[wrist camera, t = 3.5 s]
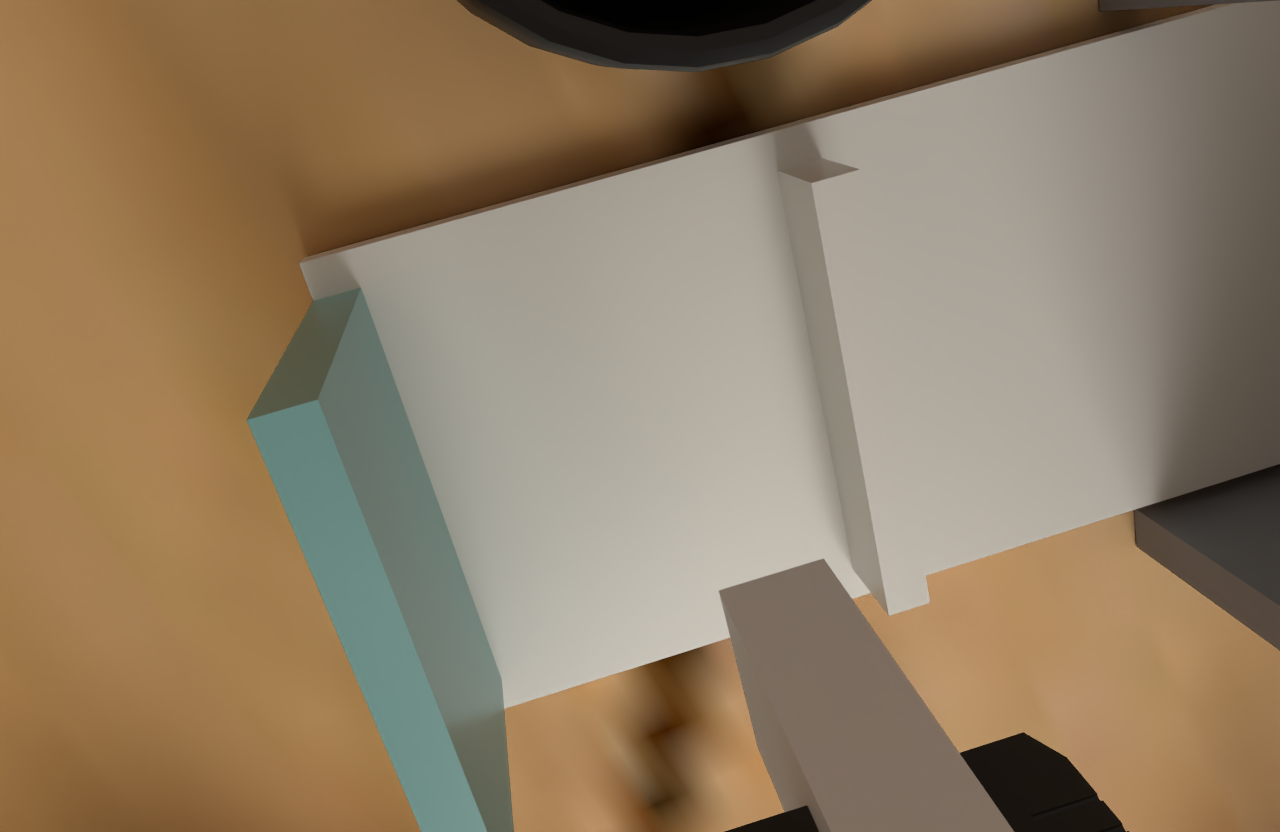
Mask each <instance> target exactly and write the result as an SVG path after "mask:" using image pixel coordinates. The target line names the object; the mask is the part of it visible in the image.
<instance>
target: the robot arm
mask: <svg viewBox="0 0 1280 832" xmlns="http://www.w3.org/2000/svg"><path fill="white" fill-rule="evenodd" d="M719 594H720V598H721V602H722V606H723V610H724V614H725V618H726V622H727V626H728V630H729V634H730V638H731V642H732V646H733V650H734V654H735V658H736V662H737V666H738V670H739V674H740V678H741V682H742V686H743V690H744V694H745V698H746V702H747V706H748V710H749V714H750V718H751V722H752V726H753V730H754V734H755V738H756V742H757V746H758V749H759V751H760V754H761V756H762V758H763V761H764V763H765V766H766V768H767V770H768V773H769V775H770V778H771V780H772V782H773V785H774V787H775V789H776V792H777V794H778V797H779V799H780V801H781V804H782V806H783V809H784V811H785V812H784V813H781V814H778V815H775V816H772V817H769V818H766V819H763V820H759V821H756V822H753V823H750V824H747V825H744V826H741V827H738V828H735V829H731V830H728V831H725V832H1126V831H1125V830H1124V828H1123V825H1122V823H1121V822H1120V820H1119V819H1118V818H1117V817H1116V816H1115V814H1114V813H1113V812H1112V811H1111V810H1110V808H1109V807H1108V806H1107V805H1106V804H1105V803H1104V801H1100V800H1099V798H1098V796H1097V793H1096V792H1095V791H1094V789H1093V788H1092V787H1091V786H1090V785H1089V783H1088V782H1087V781H1086V780H1085V779H1084V778H1083V776H1082V775H1081V774H1080V773H1079V772H1078V770H1077V769H1076V768H1075V767H1074V766H1073V764H1072V763H1071V762H1070V761H1069V760H1068V759H1067V757H1065V756H1063V755H1061V754H1060V753H1058V752H1056V751H1054V750H1053V749H1051V748H1049V747H1048V746H1046V745H1044V744H1042V743H1041V742H1039V741H1037V740H1035V739H1034V738H1032V737H1030V736H1029V735H1027V734H1025V733H1020V734H1017V735H1014V736H1011V737H1008V738H1005V739H1002V740H998V741H995V742H992V743H989V744H986V745H983V746H980V747H977V748H974V749H970V750H967V751H964V752H961V753H959V752H958V750H957V749H956V747H955V746H954V745H953V743H952V742H951V740H950V739H949V737H948V736H947V735H946V733H945V732H944V730H943V729H942V727H941V726H940V724H939V723H938V722H937V720H936V719H935V717H934V716H933V714H932V713H931V712H930V710H929V709H928V707H927V706H926V704H925V703H924V702H923V700H922V699H921V697H920V696H919V694H918V693H917V691H916V690H915V689H914V687H913V686H912V684H911V683H910V681H909V680H908V679H907V677H906V676H905V674H904V673H903V671H902V670H901V668H900V667H899V666H898V664H897V663H896V661H895V660H894V658H893V657H892V656H891V654H890V653H889V651H888V650H887V648H886V647H885V646H884V644H883V643H882V641H881V640H880V638H879V637H878V635H877V634H876V633H875V631H874V630H873V628H872V627H871V625H870V624H869V623H868V621H867V620H866V618H865V617H864V615H863V614H862V613H861V611H860V610H859V608H858V607H857V605H856V604H855V602H854V601H853V600H852V598H851V597H850V595H849V594H848V592H847V591H846V590H845V588H844V587H843V585H842V584H841V582H840V581H839V580H838V578H837V577H836V575H835V574H834V572H833V571H832V569H831V568H830V567H829V565H828V564H827V562H826V561H825V559H824V558H823V559H820V560H817V561H814V562H810V563H807V564H804V565H800V566H797V567H794V568H791V569H787V570H784V571H781V572H778V573H774V574H771V575H768V576H764V577H761V578H758V579H755V580H751V581H748V582H745V583H742V584H738V585H735V586H732V587H728V588H725V589H722V590H719ZM1127 832H1129V831H1127Z"/></svg>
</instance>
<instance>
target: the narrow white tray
mask: <svg viewBox="0 0 1280 832" xmlns="http://www.w3.org/2000/svg"><path fill="white" fill-rule="evenodd" d="M299 265H300V267H301V270H302V273H303V275H304V278H305V281H306V283H307V286H308V289H309V291H310V294H311V296H312V299H313V302H312V304H311V306H310V308H309V309H308V311H307V313H306V315H305V317H304V318H303V320H302V322H301V324H300V326H299V327H298V329H297V331H296V333H295V334H294V336H293V338H292V340H291V342H290V343H289V345H288V347H287V349H286V351H285V352H284V354H283V356H282V358H281V360H280V361H279V363H278V365H277V367H276V369H275V370H274V372H273V374H272V376H271V378H270V379H269V381H268V383H267V385H266V386H265V388H264V390H263V392H262V394H261V395H260V397H259V399H258V401H257V403H256V404H255V406H254V408H253V410H252V412H251V413H250V415H249V417H248V419H247V422H248V424H249V426H250V429H251V431H252V434H253V436H254V438H255V441H256V443H257V445H258V448H259V450H260V452H261V455H262V457H263V460H264V462H265V464H266V467H267V469H268V471H269V474H270V476H271V478H272V481H273V483H274V485H275V488H276V490H277V493H278V495H279V497H280V500H281V502H282V504H283V507H284V509H285V511H286V514H287V516H288V518H289V521H290V523H291V526H292V528H293V530H294V533H295V535H296V537H297V540H298V542H299V544H300V547H301V549H302V551H303V554H304V556H305V559H306V561H307V563H308V566H309V568H310V570H311V573H312V575H313V577H314V580H315V582H316V585H317V587H318V589H319V592H320V594H321V596H322V599H323V601H324V603H325V606H326V608H327V610H328V613H329V615H330V618H331V620H332V622H333V625H334V627H335V629H336V632H337V634H338V636H339V639H340V641H341V643H342V646H343V648H344V651H345V653H346V655H347V658H348V660H349V662H350V665H351V667H352V669H353V672H354V674H355V677H356V679H357V681H358V684H359V686H360V688H361V691H362V693H363V695H364V698H365V700H366V702H367V705H368V707H369V710H370V712H371V714H372V717H373V719H374V721H375V724H376V726H377V728H378V731H379V733H380V735H381V738H382V740H383V743H384V745H385V747H386V750H387V752H388V754H389V757H390V759H391V761H392V764H393V766H394V769H395V771H396V773H397V776H398V778H399V780H400V783H401V785H402V787H403V790H404V792H405V794H406V797H407V799H408V802H409V804H410V806H411V809H412V811H413V813H414V816H415V818H416V820H417V823H418V825H419V827H420V830H421V832H514V828H513V815H512V803H511V790H510V777H509V764H508V751H507V739H506V726H505V713H504V709H505V708H508V707H512V706H515V705H518V704H521V703H524V702H527V701H531V700H534V699H537V698H540V697H543V696H546V695H550V694H553V693H556V692H559V691H562V690H565V689H569V688H572V687H575V686H578V685H581V684H584V683H588V682H591V681H594V680H597V679H600V678H603V677H607V676H610V675H613V674H616V673H619V672H622V671H626V670H629V669H632V668H635V667H638V666H641V665H645V664H648V663H651V662H654V661H657V660H660V659H664V658H667V657H670V656H673V655H676V654H679V653H683V652H686V651H689V650H692V649H695V648H698V647H702V646H705V645H708V644H711V643H714V642H717V641H721V640H724V639H727V638H730V634H729V630H728V626H727V622H726V618H725V614H724V610H723V606H722V602H721V598H720V594H719V590H722V589H725V588H728V587H732V586H735V585H738V584H742V583H745V582H748V581H751V580H755V579H758V578H761V577H764V576H768V575H771V574H774V573H778V572H781V571H784V570H787V569H791V568H794V567H797V566H800V565H804V564H807V563H810V562H814V561H817V560H820V559H823V558H824V559H825V561H826V562H827V564H828V565H829V567H830V568H831V569H832V571H833V572H834V574H835V575H836V577H837V578H838V580H839V581H840V582H841V584H842V585H843V587H844V588H845V590H846V591H847V592H848V594H849V595H850V597H851V598H852V599H854V598H857V597H860V596H863V595H866V594H869V593H872V595H873V596H874V597H875V599H876V600H877V601H878V602H879V604H880V605H881V606H882V608H883V609H884V610H885V611H886V613H887V614H888V615H889V616H890V615H893V614H896V613H899V612H903V611H906V610H909V609H912V608H915V607H918V606H921V605H925V604H928V603H930V600H929V593H928V587H927V581H926V575H930V574H933V573H936V572H939V571H942V570H945V569H949V568H952V567H955V566H958V565H961V564H964V563H968V562H971V561H974V560H977V559H980V558H983V557H987V556H990V555H993V554H996V553H999V552H1002V551H1006V550H1009V549H1012V548H1015V547H1018V546H1021V545H1025V544H1028V543H1031V542H1034V541H1037V540H1040V539H1044V538H1047V537H1050V536H1053V535H1056V534H1059V533H1063V532H1066V531H1069V530H1072V529H1075V528H1078V527H1082V526H1085V525H1088V524H1091V523H1094V522H1097V521H1101V520H1104V519H1107V518H1110V517H1113V516H1116V515H1120V514H1123V513H1126V512H1129V511H1132V510H1135V509H1139V508H1142V507H1145V506H1148V505H1151V504H1154V503H1158V502H1161V501H1164V500H1167V499H1170V498H1173V497H1177V496H1180V495H1183V494H1186V493H1189V492H1192V491H1196V490H1199V489H1202V488H1205V487H1208V486H1211V485H1215V484H1218V483H1221V482H1224V481H1227V480H1230V479H1233V478H1237V477H1240V476H1243V475H1246V474H1249V473H1252V472H1256V471H1259V470H1262V469H1265V468H1268V467H1271V466H1275V465H1278V464H1280V0H1279V1H1262V2H1246V3H1229V4H1216V5H1213V6H1209V7H1205V8H1202V9H1198V10H1195V11H1191V12H1187V13H1184V14H1180V15H1176V16H1173V17H1169V18H1166V19H1162V20H1158V21H1155V22H1151V23H1148V24H1144V25H1140V26H1137V27H1133V28H1130V29H1126V30H1122V31H1119V32H1115V33H1112V34H1108V35H1104V36H1101V37H1097V38H1094V39H1090V40H1086V41H1083V42H1079V43H1076V44H1072V45H1068V46H1065V47H1061V48H1058V49H1054V50H1050V51H1047V52H1043V53H1040V54H1036V55H1032V56H1029V57H1025V58H1022V59H1018V60H1014V61H1011V62H1007V63H1004V64H1000V65H996V66H993V67H989V68H985V69H982V70H978V71H975V72H971V73H967V74H964V75H960V76H957V77H953V78H949V79H946V80H942V81H939V82H935V83H931V84H928V85H924V86H921V87H917V88H913V89H910V90H906V91H903V92H899V93H895V94H892V95H888V96H885V97H881V98H877V99H874V100H870V101H867V102H863V103H859V104H856V105H852V106H849V107H845V108H841V109H838V110H834V111H831V112H827V113H823V114H820V115H816V116H813V117H809V118H805V119H802V120H798V121H795V122H791V123H787V124H784V125H780V126H776V127H773V128H769V129H766V130H762V131H758V132H755V133H751V134H748V135H744V136H740V137H737V138H733V139H730V140H726V141H722V142H719V143H715V144H712V145H708V146H704V147H701V148H697V149H694V150H690V151H686V152H683V153H679V154H676V155H672V156H668V157H665V158H661V159H658V160H654V161H650V162H647V163H643V164H640V165H636V166H632V167H629V168H625V169H622V170H618V171H614V172H611V173H607V174H604V175H600V176H596V177H593V178H589V179H585V180H582V181H578V182H575V183H571V184H567V185H564V186H560V187H557V188H553V189H549V190H546V191H542V192H539V193H535V194H531V195H528V196H524V197H521V198H517V199H513V200H510V201H506V202H503V203H499V204H495V205H492V206H488V207H485V208H481V209H477V210H474V211H470V212H467V213H463V214H459V215H456V216H452V217H449V218H445V219H441V220H438V221H434V222H431V223H427V224H423V225H420V226H416V227H413V228H409V229H405V230H402V231H398V232H395V233H391V234H387V235H384V236H380V237H376V238H373V239H369V240H366V241H362V242H358V243H355V244H351V245H348V246H344V247H340V248H337V249H333V250H330V251H326V252H322V253H319V254H315V255H312V256H308V257H304V258H303V259H302V260H301V261H300V263H299Z"/></svg>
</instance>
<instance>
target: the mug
mask: <svg viewBox="0 0 1280 832" xmlns="http://www.w3.org/2000/svg"><path fill="white" fill-rule="evenodd" d="M457 1H458V2H459V3H460V4H462V5H463V6H464V7H465V8H466V9H467V10H468V11H469V12H471V13H472V14H474V15H475V16H477V17H479V18H481V19H483V20H484V21H486V22H488V23H490V24H491V25H493V26H495V27H497V28H498V29H500V30H502V31H504V32H506V33H507V34H509V35H511V36H513V37H514V38H516V39H518V40H520V41H521V42H523V43H525V44H527V45H529V46H531V47H535V48H538V49H542V50H545V51H548V52H552V53H555V54H558V55H562V56H565V57H569V58H572V59H575V60H579V61H582V62H586V63H589V64H593V65H598V66H604V67H614V68H625V69H646V70H666V71H687V72H699V71H704V70H709V69H714V68H720V67H725V66H730V65H735V64H740V63H745V62H750V61H755V60H761V59H766V58H770V57H772V56H774V55H777V54H779V53H781V52H783V51H785V50H787V49H790V48H792V47H794V46H796V45H798V44H801V43H803V42H805V41H807V40H809V39H812V38H814V37H816V36H818V35H820V34H822V33H825V32H827V31H829V30H831V29H833V28H836V27H838V26H839V25H840V24H842V23H843V22H844V21H846V20H847V19H848V18H849V17H851V16H852V15H853V14H855V13H856V12H857V11H859V10H860V9H861V8H862V7H864V6H865V5H866V4H868V3H869V2H870V1H872V0H457Z"/></svg>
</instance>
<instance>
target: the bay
mask: <svg viewBox="0 0 1280 832" xmlns="http://www.w3.org/2000/svg"><path fill="white" fill-rule="evenodd" d="M1262 1H1279V0H1099V7H1100V11H1114V10H1130V9H1147V8H1163V7H1180V6H1196V5H1213V4H1229V3H1246V2H1262ZM1134 515H1135V530H1136V544H1137V547H1138V548H1139V549H1141V550H1142V551H1143V552H1145V553H1146V554H1148V555H1149V556H1150V557H1152V558H1153V559H1154V560H1156V561H1157V562H1159V563H1160V564H1161V565H1163V566H1164V567H1166V568H1167V569H1168V570H1170V571H1171V572H1172V573H1174V574H1175V575H1177V576H1178V577H1179V578H1181V579H1182V580H1183V581H1185V582H1186V583H1188V584H1189V585H1190V586H1192V587H1193V588H1194V589H1196V590H1197V591H1199V592H1200V593H1201V594H1203V595H1204V596H1206V597H1207V598H1208V599H1210V600H1211V601H1212V602H1214V603H1215V604H1217V605H1218V606H1219V607H1221V608H1222V609H1223V610H1225V611H1226V612H1228V613H1229V614H1230V615H1232V616H1233V617H1234V618H1236V619H1237V620H1239V621H1240V622H1241V623H1243V624H1244V625H1246V626H1247V627H1248V628H1250V629H1251V630H1252V631H1254V632H1255V633H1257V634H1258V635H1259V636H1261V637H1262V638H1263V639H1265V640H1266V641H1268V642H1269V643H1270V644H1272V645H1273V646H1274V647H1276V648H1277V649H1279V650H1280V464H1278V465H1275V466H1271V467H1268V468H1265V469H1262V470H1259V471H1256V472H1252V473H1249V474H1246V475H1243V476H1240V477H1237V478H1233V479H1230V480H1227V481H1224V482H1221V483H1218V484H1215V485H1211V486H1208V487H1205V488H1202V489H1199V490H1196V491H1192V492H1189V493H1186V494H1183V495H1180V496H1177V497H1173V498H1170V499H1167V500H1164V501H1161V502H1158V503H1154V504H1151V505H1148V506H1145V507H1142V508H1139V509H1135V510H1134Z"/></svg>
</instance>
